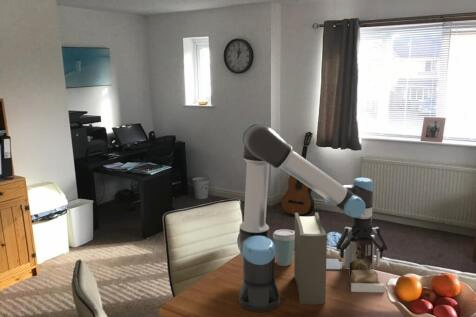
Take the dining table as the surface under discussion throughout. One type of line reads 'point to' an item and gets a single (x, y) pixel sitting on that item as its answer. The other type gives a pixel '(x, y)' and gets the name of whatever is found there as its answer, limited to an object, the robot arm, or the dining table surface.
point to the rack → (362, 286)
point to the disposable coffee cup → (284, 246)
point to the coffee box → (360, 254)
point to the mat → (333, 264)
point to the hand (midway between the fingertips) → (360, 265)
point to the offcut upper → (364, 275)
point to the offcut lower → (362, 282)
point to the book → (310, 259)
